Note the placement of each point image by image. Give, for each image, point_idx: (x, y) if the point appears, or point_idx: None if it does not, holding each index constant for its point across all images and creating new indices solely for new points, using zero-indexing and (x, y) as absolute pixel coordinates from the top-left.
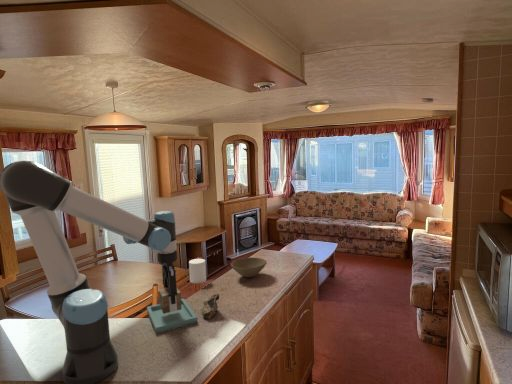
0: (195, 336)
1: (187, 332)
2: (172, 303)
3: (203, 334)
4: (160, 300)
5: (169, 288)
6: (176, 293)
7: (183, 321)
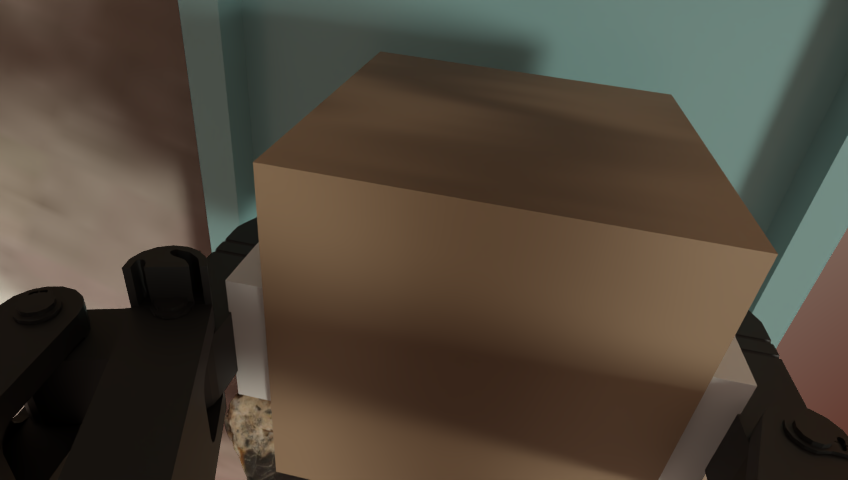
0: (29, 170)
1: (112, 147)
2: (242, 232)
3: (44, 229)
4: (578, 129)
5: (83, 439)
6: (28, 410)
7: (207, 190)
